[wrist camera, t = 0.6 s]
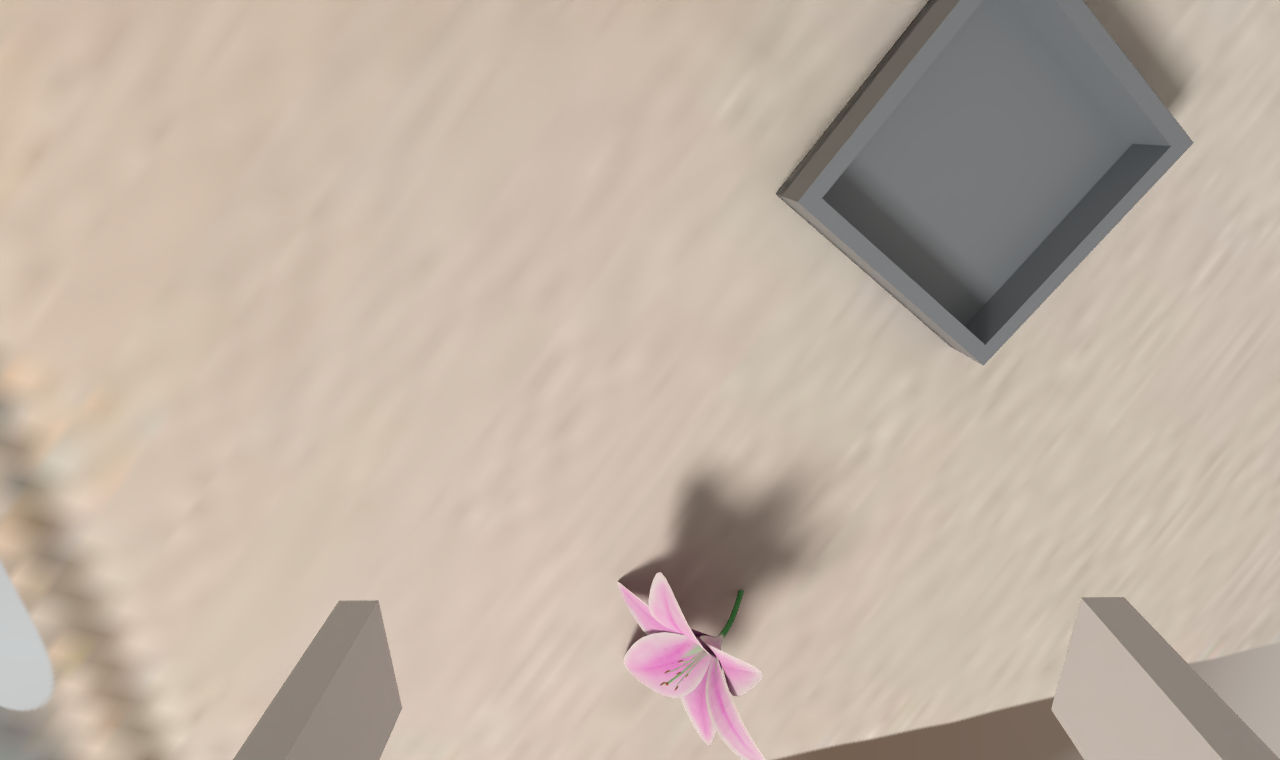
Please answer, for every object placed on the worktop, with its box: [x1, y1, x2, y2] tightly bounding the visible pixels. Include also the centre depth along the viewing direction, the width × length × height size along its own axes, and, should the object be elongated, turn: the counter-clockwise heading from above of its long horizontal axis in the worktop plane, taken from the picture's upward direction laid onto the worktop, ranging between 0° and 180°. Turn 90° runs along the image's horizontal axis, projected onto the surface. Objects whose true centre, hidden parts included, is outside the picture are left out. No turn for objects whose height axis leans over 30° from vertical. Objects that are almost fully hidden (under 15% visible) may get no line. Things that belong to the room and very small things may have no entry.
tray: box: [776, 0, 1193, 366], centre depth 32 cm, size 14×14×3 cm
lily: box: [618, 572, 765, 760], centre depth 38 cm, size 12×12×10 cm
